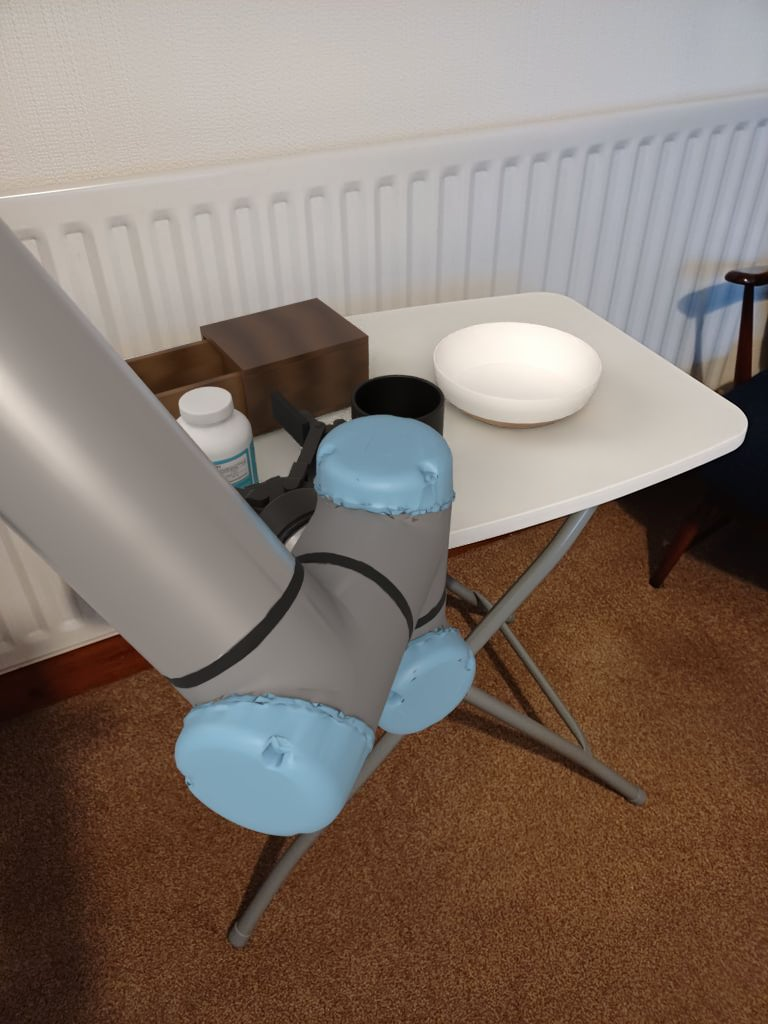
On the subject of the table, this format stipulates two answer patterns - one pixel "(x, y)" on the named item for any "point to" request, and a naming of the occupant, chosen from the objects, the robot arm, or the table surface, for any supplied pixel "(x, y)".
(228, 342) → the cabinet
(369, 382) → the mug
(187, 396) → the pill bottle
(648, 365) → the table surface
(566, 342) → the bowl
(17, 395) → the robot arm
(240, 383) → the drawer
